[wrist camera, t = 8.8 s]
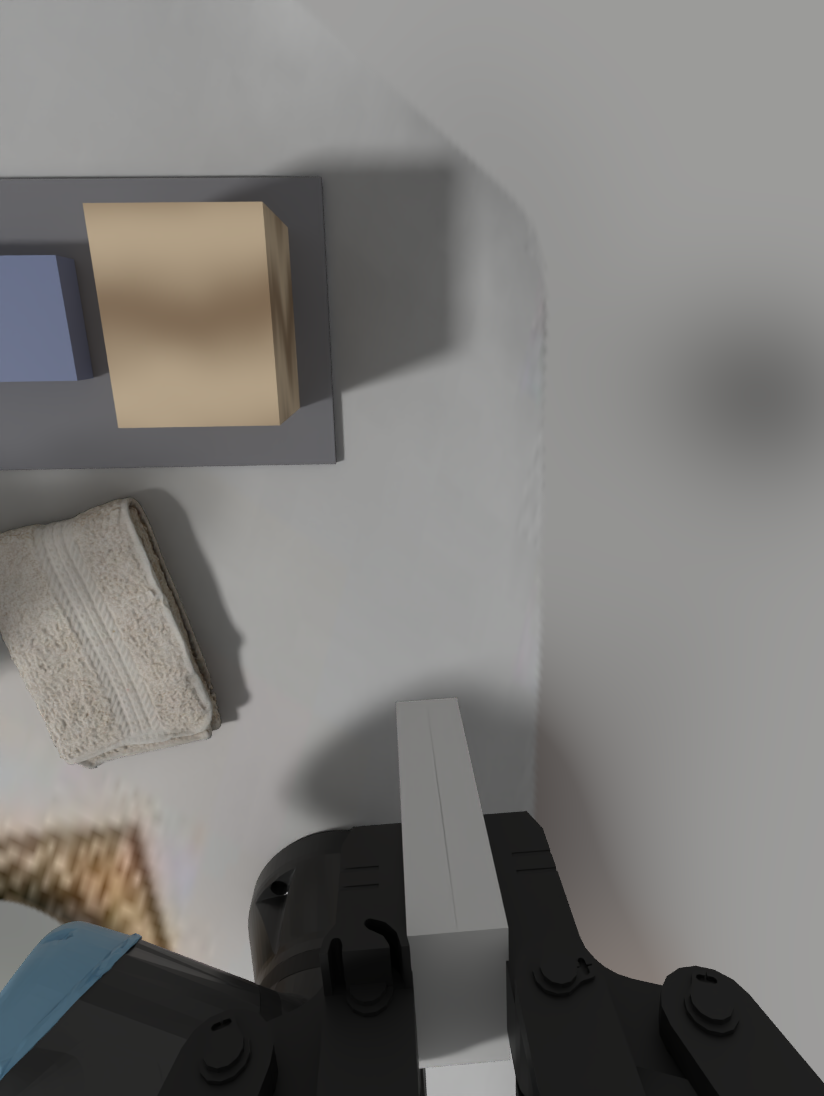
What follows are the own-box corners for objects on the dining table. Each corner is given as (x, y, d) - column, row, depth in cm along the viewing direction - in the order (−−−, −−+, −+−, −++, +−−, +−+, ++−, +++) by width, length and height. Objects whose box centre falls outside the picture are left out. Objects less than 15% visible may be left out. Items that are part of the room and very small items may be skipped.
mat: (336, 462, 41) (335, 463, 40) (-48, 469, 40) (-52, 471, 40) (321, 178, 36) (320, 176, 35) (-119, 181, 35) (-124, 179, 35)
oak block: (300, 407, 40) (279, 425, 32) (170, 409, 39) (118, 428, 32) (289, 228, 36) (262, 201, 29) (147, 229, 36) (82, 202, 29)
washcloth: (84, 756, 48) (65, 784, 45) (-30, 536, 42) (-62, 552, 39) (236, 718, 47) (226, 744, 44) (140, 489, 42) (121, 501, 39)
